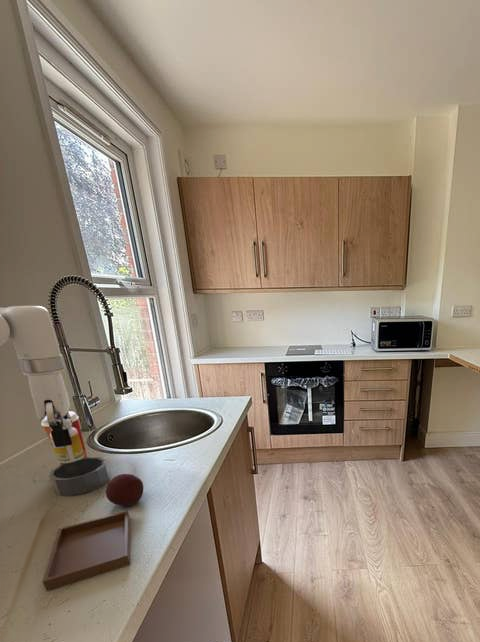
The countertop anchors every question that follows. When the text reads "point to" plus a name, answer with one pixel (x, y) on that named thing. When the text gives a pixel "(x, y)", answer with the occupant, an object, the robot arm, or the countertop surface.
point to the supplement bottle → (72, 451)
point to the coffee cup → (75, 424)
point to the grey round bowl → (80, 476)
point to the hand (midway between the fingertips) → (66, 440)
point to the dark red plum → (124, 489)
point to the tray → (89, 550)
